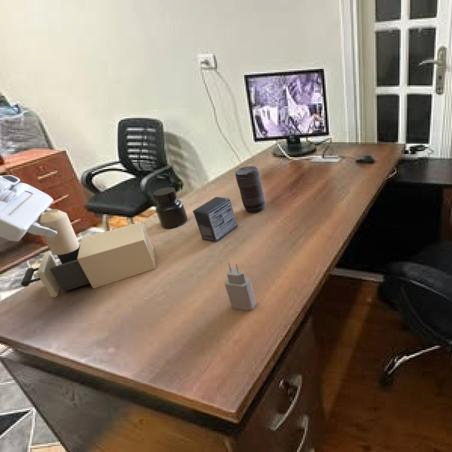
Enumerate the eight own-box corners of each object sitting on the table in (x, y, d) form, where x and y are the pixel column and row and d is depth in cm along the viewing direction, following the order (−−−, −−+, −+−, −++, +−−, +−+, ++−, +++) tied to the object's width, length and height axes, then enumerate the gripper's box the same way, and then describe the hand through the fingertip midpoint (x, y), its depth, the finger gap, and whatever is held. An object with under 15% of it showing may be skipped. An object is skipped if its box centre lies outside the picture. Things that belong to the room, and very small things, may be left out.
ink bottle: (187, 213, 128) (177, 183, 123) (190, 223, 121) (180, 191, 116) (159, 221, 125) (148, 190, 119) (160, 231, 118) (148, 199, 112)
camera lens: (239, 210, 127) (229, 171, 120) (256, 202, 132) (248, 164, 125) (253, 216, 122) (244, 175, 115) (270, 207, 127) (263, 168, 120)
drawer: (29, 305, 88) (12, 280, 84) (38, 281, 96) (23, 258, 93) (115, 277, 95) (103, 253, 91) (115, 258, 104) (104, 235, 100)
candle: (73, 253, 82) (56, 214, 78) (47, 256, 81) (29, 217, 77) (83, 242, 87) (68, 205, 82) (59, 245, 86) (42, 208, 82)
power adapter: (251, 311, 80) (239, 268, 74) (230, 308, 81) (217, 266, 75) (257, 302, 82) (246, 260, 76) (237, 299, 84) (225, 258, 78)
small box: (223, 223, 119) (215, 195, 114) (238, 226, 116) (231, 198, 111) (200, 239, 111) (191, 210, 106) (216, 242, 108) (207, 212, 103)
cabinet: (93, 288, 93) (77, 259, 88) (96, 265, 103) (81, 238, 98) (156, 268, 99) (144, 239, 94) (152, 248, 109) (141, 221, 104)
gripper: (-28, 201, 65) (54, 236, 73) (15, 173, 83) (78, 203, 90) (-46, 228, 66) (38, 260, 73) (0, 194, 83) (64, 222, 91)
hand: (60, 228), depth 82 cm, fingers closed on candle, 5 cm apart
